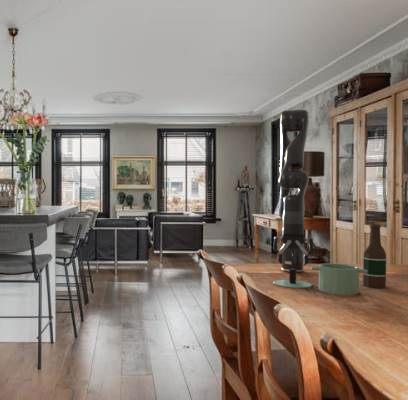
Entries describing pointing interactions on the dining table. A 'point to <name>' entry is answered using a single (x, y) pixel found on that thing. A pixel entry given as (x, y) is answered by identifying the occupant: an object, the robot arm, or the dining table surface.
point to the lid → (292, 281)
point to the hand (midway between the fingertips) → (292, 264)
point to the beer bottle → (374, 260)
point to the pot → (339, 278)
